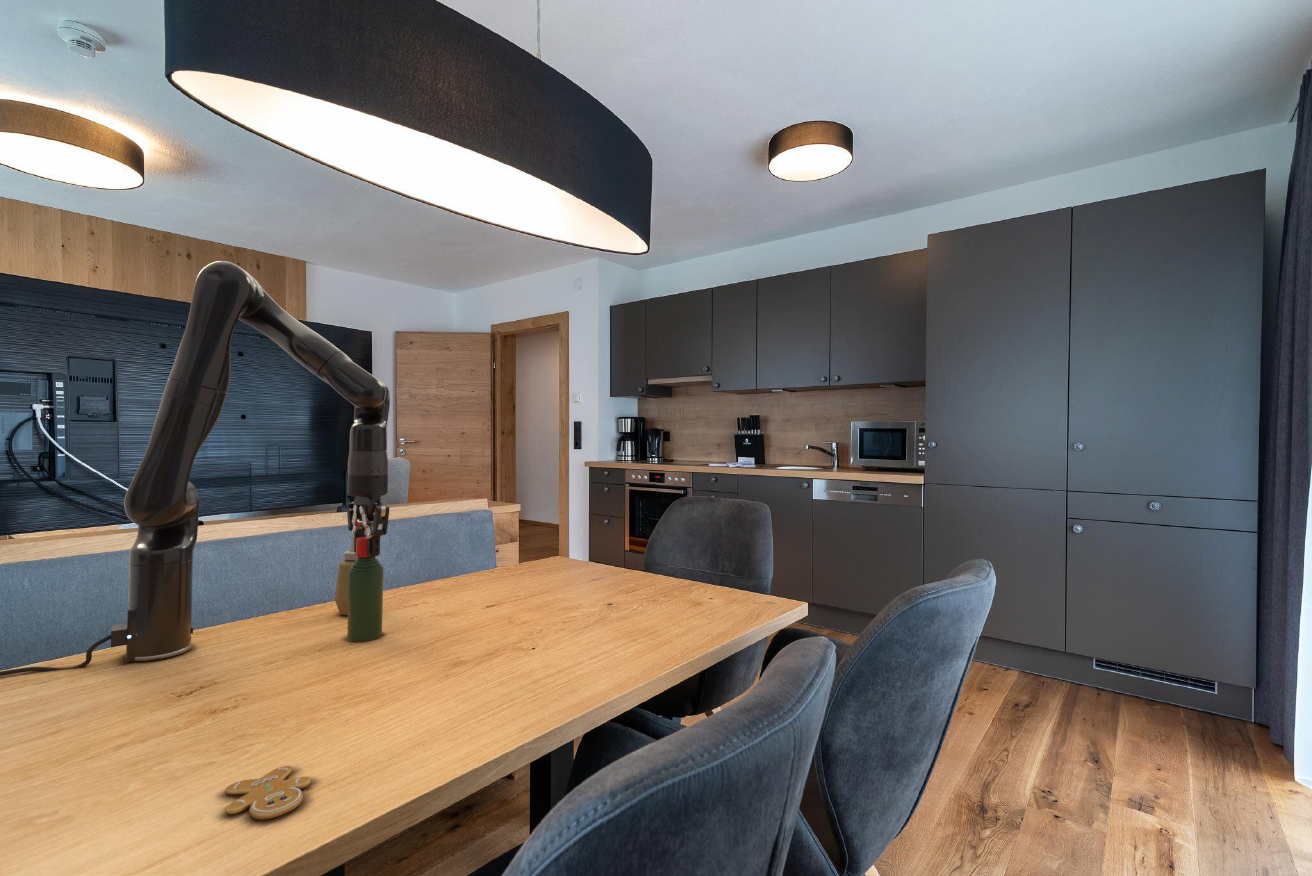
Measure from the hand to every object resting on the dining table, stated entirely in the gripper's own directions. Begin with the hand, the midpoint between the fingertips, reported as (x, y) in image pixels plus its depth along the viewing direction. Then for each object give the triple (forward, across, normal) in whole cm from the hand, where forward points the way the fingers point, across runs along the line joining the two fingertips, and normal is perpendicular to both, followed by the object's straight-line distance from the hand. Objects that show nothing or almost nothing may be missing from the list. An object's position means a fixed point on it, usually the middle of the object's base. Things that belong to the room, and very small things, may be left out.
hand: (366, 553), depth 120 cm
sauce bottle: (+17, 0, 0) cm, 17 cm away
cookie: (+17, +47, -33) cm, 60 cm away
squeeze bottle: (+17, -19, +6) cm, 27 cm away
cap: (0, 0, 0) cm, 0 cm away
